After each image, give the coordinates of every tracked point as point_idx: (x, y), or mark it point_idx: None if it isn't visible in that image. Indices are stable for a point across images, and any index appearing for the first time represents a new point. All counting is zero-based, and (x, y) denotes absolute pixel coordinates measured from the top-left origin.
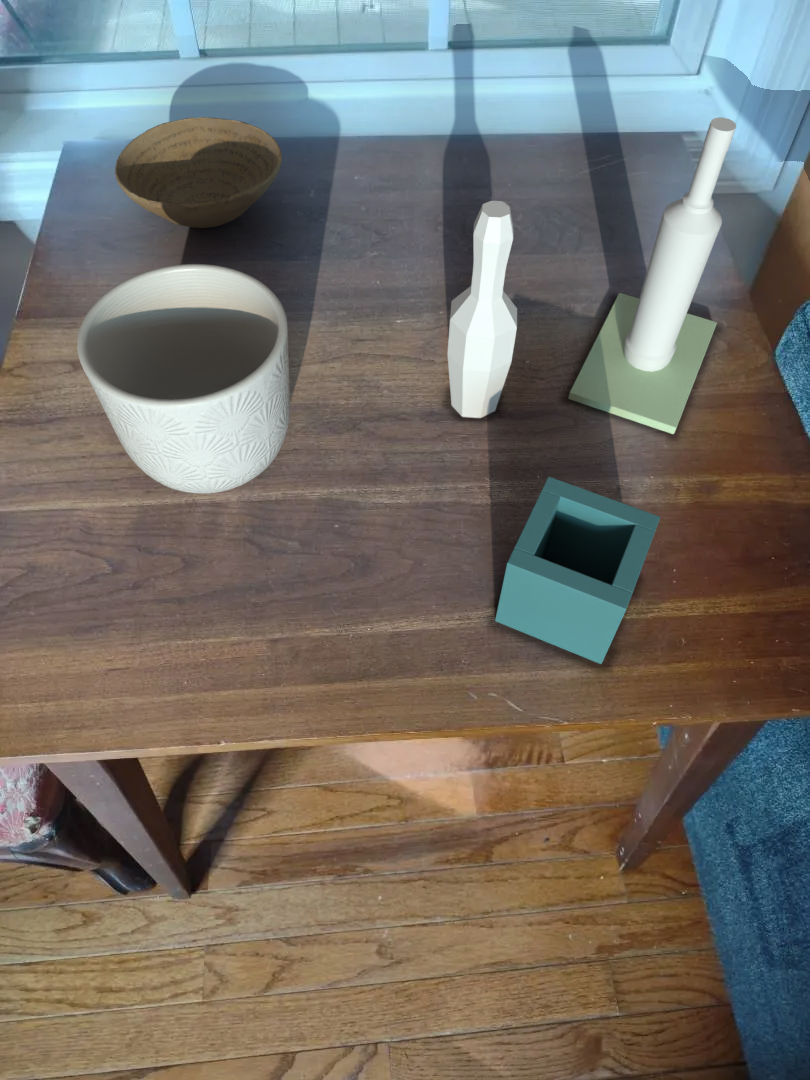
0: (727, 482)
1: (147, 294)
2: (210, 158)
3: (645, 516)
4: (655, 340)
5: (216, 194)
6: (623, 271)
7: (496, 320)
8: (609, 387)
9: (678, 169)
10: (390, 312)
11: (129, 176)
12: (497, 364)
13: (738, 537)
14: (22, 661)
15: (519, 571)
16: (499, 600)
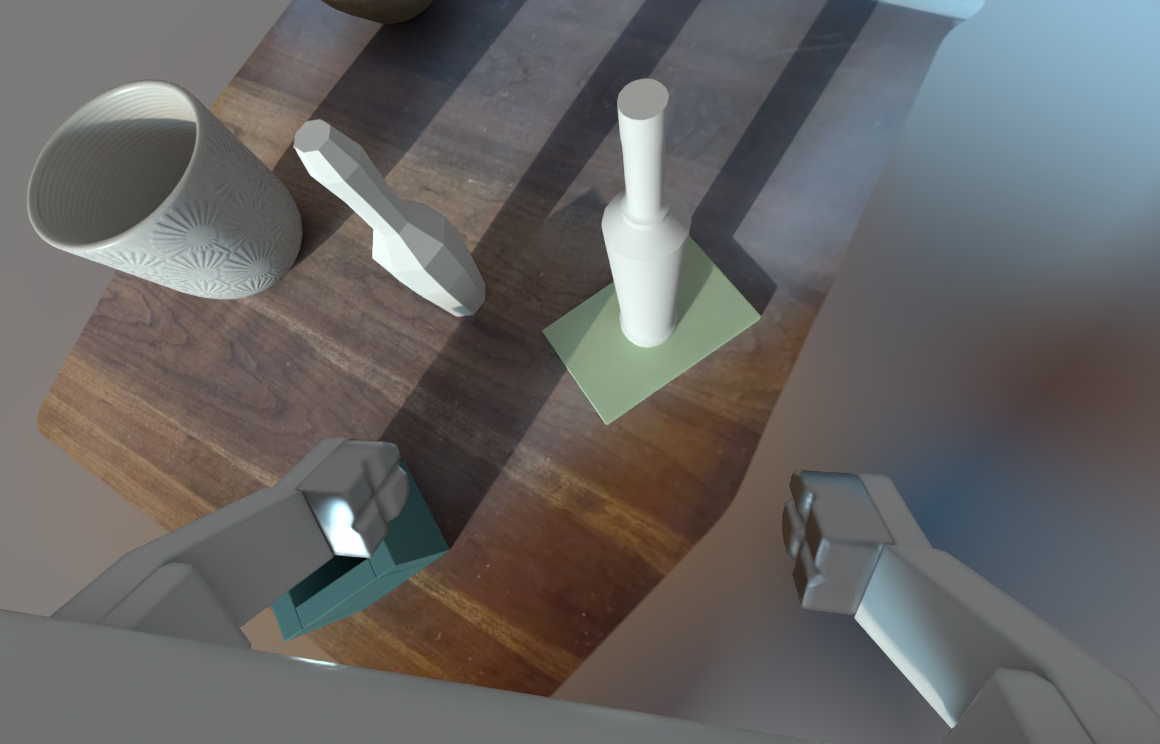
0: (613, 507)
1: (151, 103)
2: None
3: (383, 555)
4: (629, 325)
5: None
6: (722, 203)
7: (393, 256)
8: (581, 343)
9: (911, 78)
10: (471, 167)
11: None
12: (426, 291)
13: (571, 571)
14: (71, 364)
15: None
16: None
